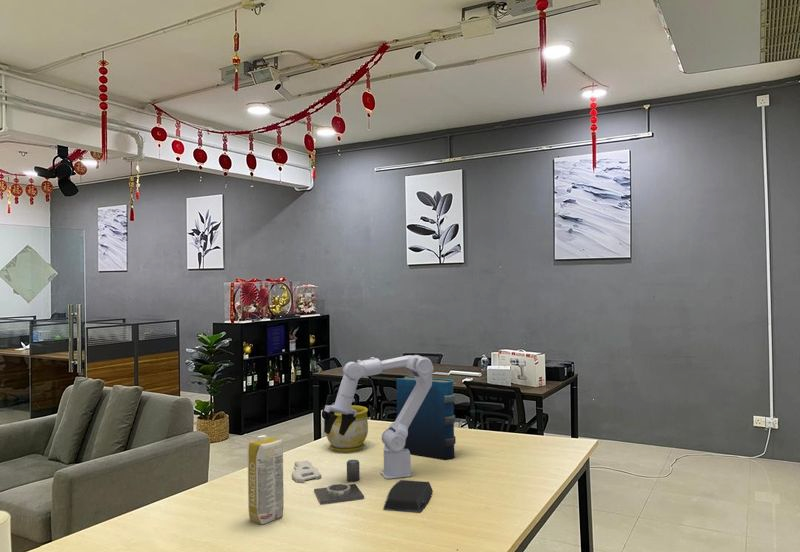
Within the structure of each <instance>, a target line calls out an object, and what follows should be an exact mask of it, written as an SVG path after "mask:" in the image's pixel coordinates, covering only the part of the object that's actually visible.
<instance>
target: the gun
mask: <svg viewBox="0 0 800 552" xmlns="http://www.w3.org/2000/svg"><path fill="white" fill-rule="evenodd" d="M293 468H294V471H292V472H291V477H292V479H293V480H294V481H295V483H298V482H301V484H305V482H306V481H308V480H312V479H315V480H316V481H318V480H320V479H321V478H322V474H321V472H320V471H319V469H318V468H317V467H315V466H313V465H312V462H309V460H306V459H305V460H299V461H294V466H293Z"/></svg>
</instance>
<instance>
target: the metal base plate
mask: <svg viewBox="0 0 800 552" xmlns="http://www.w3.org/2000/svg"><path fill="white" fill-rule="evenodd" d="M313 492H314V495H315V496H316V498H317V501H318V503H319V505H328V504H335V503H345V502H351V501H358V500H365V495H364V493H363V492H362V491H361V489H360V488H359V486H357V484H356V483H351V484H347V483H333V484H330V485H328V486H326V487H320V488H319V487H318V488H314V489H313Z"/></svg>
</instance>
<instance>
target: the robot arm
mask: <svg viewBox="0 0 800 552" xmlns="http://www.w3.org/2000/svg"><path fill="white" fill-rule="evenodd" d="M433 365H434V364H433V363H432V360H430V358H428V357H426V356H421V355H419V354H414V355H411V354H410V355H409V354H408V355H403V356H399V357H393V358H388V359H384V360H383V359H382V360H380V359H379V358H377V357H376V358H375V357H374V356H371V357H370V358H369V359H364V360H361V359H358V360H357V361H356V362H355V361H349V362H347V363H346V364H345V365H344V366H343V367H342V373H343V376H342V380H341V382H340V385H339V388H338V391H337V395H336V398H335V402H334V404H332V405H327V404H325V406H324V410H323V411H322V415H323V419H324V420H323V421H324V425H323V427H324V428H323V432H324V433H325V434H326V433H327V434H329V433H330V431H331V429H332V426H333V424H334V422H335V420H336V418H337V417H338V416H337V415H335V414H334V413H340V414H342V419H341V426H340V430H339V434H341V435H345V433H346V431H347V430H348V428H349V426H350V425H351V424H352V423H353V422H354V421H355V420H356V417H354V416H356V414H357V410H354V409H350V407H351V405H352V403H353V401H354V397H355V393H356V390H357V387H358V382H359V380H360V379H361V378H365V377H370V376H376V375H380V374H381V373H382V371H383V370H391V369H398V368H406V369H409V370H410V371H411V373H412V374H413V377H415V380H416V385H415V387H414V389H413V390H412V392H411V394H410V396H409V397H408V399H407V401H406V403H405V405H404V406H403V408H402V410H401V412H400V413H399V415H398V417H397V416H396V419H395V421H393V422H392V423H391V424H390V425H389V426H388V428H387V429H385V430H384V431H383V432H382V433H381V442H382V444H384V446H383V470H381V471H380V474H381V475H382V476H383V477H384V478H385V479H386V480H389V479H390V480H391V479H400V478H405V477H411V476H413V475H412V459H411V458H412V457H411V456H412V455H410V452H409V450H408V449H403V448H404V446H405V441H406V438H407V436H408V427H409V426H410V424H411V422H412V420H413V418H414V417H415V415H416V413H417V411H418V409H419V408H420V406H421V404H422V402H423V400H424V399H425V397H426V395H427V393H428V391H429V390H430V388H431V386H432V378H433V372H434V370H435V369H434V366H433ZM339 411H341V412H339Z"/></svg>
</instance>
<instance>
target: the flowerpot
mask: <svg viewBox="0 0 800 552" xmlns="http://www.w3.org/2000/svg"><path fill="white" fill-rule="evenodd" d="M350 409H354V410H357V414H356V416H354V417H356V420H355V421H354V422H353V423H352V424H351V425H350V426H349V428H348V430H347V431H346V433H345V435H341V434H339V430H340V426H341V419H342V414H340V413H334V414H335V415H337V416H338V417H337V418H336V420H335V422H334V424H333V426H332V429H331V431H330V433H329V434H327V433H325V435H326V438H327V441H328V442H329V443H330V444H329V447H330V448H331V450H333V452H336V453H347V454H348V453H354V452H358V451H361V450H362V449H363V447H364V446H365V443H364V442H365V441H366V439H367V437H368V432H369V425H368V424H369V422H368V414H367V413H368V411H369V408H367V407H366V406H362V405H352V404H351V407H350ZM339 412H341V411H339Z"/></svg>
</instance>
